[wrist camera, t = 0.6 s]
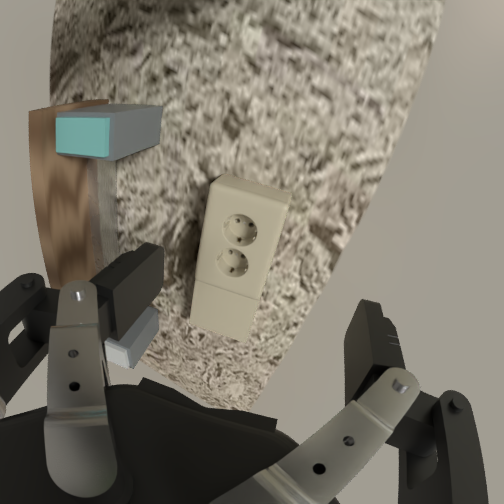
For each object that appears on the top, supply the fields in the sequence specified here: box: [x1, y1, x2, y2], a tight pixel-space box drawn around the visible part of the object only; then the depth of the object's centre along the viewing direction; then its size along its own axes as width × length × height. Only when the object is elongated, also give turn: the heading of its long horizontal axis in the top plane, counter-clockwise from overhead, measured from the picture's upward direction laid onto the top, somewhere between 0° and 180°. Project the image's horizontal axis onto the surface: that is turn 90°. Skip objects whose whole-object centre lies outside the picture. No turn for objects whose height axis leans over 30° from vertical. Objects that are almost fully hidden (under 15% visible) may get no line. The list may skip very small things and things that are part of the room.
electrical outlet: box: [189, 174, 292, 343], centre depth 32 cm, size 7×4×18 cm
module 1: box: [56, 104, 163, 161], centre depth 25 cm, size 4×7×9 cm, turn 81°
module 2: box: [105, 306, 159, 369], centre depth 38 cm, size 4×7×9 cm, turn 81°
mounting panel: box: [29, 99, 109, 290], centre depth 31 cm, size 31×2×10 cm, turn 171°
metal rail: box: [87, 158, 120, 274], centre depth 34 cm, size 22×2×4 cm, turn 171°
